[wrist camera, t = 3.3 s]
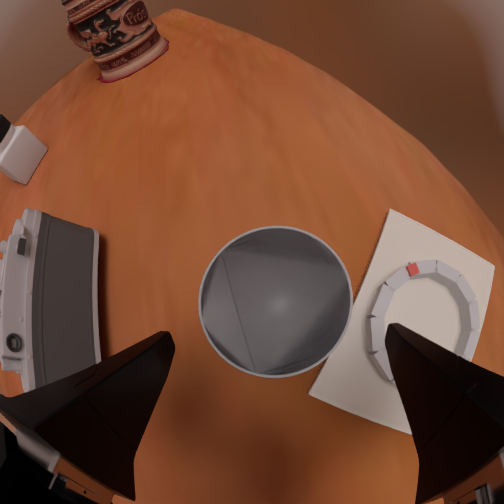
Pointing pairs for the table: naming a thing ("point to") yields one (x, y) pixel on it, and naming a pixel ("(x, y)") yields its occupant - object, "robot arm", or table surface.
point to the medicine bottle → (19, 151)
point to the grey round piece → (275, 301)
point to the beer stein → (115, 35)
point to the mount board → (404, 316)
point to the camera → (48, 299)
